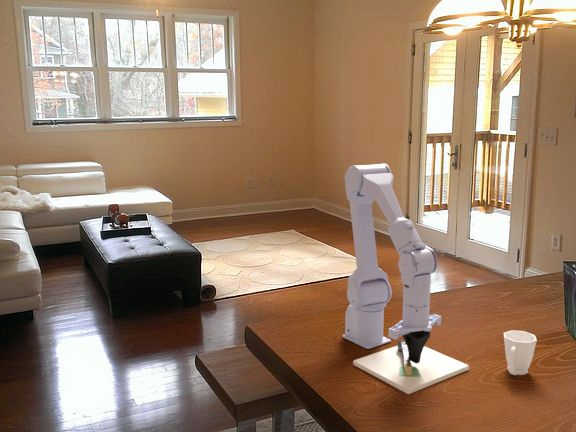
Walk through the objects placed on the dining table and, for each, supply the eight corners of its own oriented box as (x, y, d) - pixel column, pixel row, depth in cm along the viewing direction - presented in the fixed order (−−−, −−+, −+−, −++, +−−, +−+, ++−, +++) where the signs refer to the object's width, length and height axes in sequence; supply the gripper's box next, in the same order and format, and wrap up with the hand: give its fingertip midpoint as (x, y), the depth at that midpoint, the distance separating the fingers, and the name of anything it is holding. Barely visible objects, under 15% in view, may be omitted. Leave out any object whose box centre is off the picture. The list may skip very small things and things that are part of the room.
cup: (538, 368, 129) (541, 334, 127) (526, 386, 121) (528, 350, 119) (505, 360, 133) (508, 327, 131) (492, 377, 125) (494, 342, 124)
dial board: (353, 364, 132) (353, 360, 132) (411, 344, 142) (412, 340, 142) (408, 394, 118) (408, 389, 118) (468, 369, 129) (468, 365, 129)
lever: (397, 347, 138) (397, 339, 138) (409, 347, 138) (409, 339, 137) (401, 375, 124) (401, 366, 124) (414, 375, 124) (415, 366, 123)
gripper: (406, 315, 119) (404, 377, 121) (453, 301, 127) (450, 359, 129) (382, 306, 124) (380, 365, 127) (428, 293, 132) (426, 348, 135)
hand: (414, 361), depth 129 cm, fingers closed, pressing on lever
